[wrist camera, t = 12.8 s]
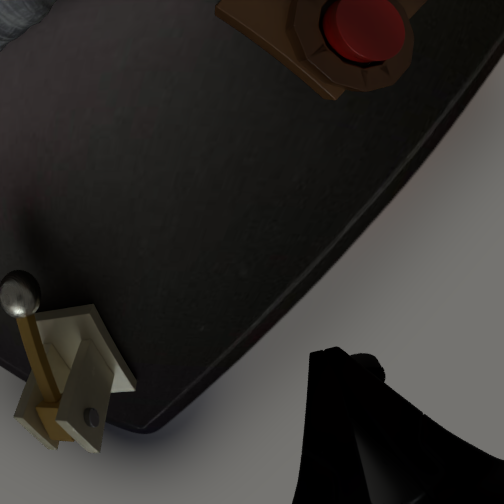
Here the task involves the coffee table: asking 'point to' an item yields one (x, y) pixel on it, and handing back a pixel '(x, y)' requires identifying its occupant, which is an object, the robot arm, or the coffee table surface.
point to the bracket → (76, 376)
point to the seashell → (20, 17)
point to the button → (364, 29)
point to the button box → (315, 43)
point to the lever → (33, 344)
